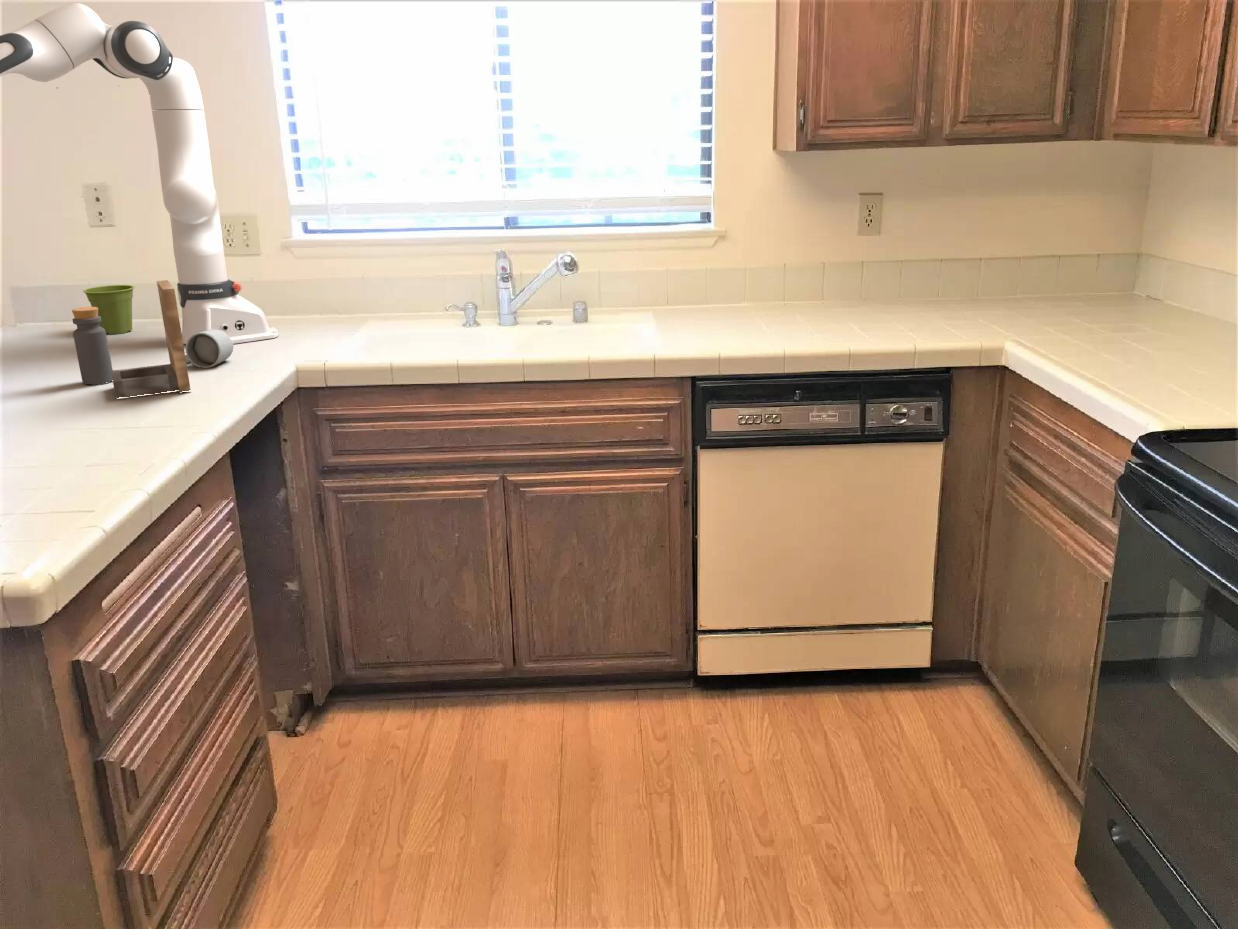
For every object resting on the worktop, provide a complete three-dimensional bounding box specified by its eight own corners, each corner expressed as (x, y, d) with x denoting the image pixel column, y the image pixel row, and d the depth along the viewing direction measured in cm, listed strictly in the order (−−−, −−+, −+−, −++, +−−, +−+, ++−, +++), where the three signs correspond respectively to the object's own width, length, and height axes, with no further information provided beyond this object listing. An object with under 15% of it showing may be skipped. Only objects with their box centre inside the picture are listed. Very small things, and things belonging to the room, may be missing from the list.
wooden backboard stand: (183, 377, 206) (167, 280, 200) (190, 392, 195) (174, 288, 188) (113, 386, 201) (95, 285, 194) (117, 401, 189) (97, 295, 183)
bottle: (89, 379, 207) (75, 306, 202) (119, 378, 208) (105, 305, 203) (77, 386, 202) (63, 311, 197) (107, 384, 202) (94, 310, 197)
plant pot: (81, 334, 256) (73, 289, 253) (126, 326, 266) (118, 283, 262) (107, 338, 250) (98, 293, 246) (151, 330, 259) (144, 286, 256)
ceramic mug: (238, 359, 222) (232, 325, 220) (222, 368, 215) (216, 332, 212) (191, 361, 223) (185, 326, 221) (174, 369, 215) (167, 334, 213)
